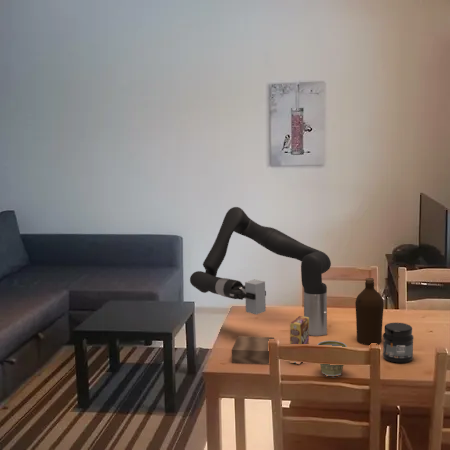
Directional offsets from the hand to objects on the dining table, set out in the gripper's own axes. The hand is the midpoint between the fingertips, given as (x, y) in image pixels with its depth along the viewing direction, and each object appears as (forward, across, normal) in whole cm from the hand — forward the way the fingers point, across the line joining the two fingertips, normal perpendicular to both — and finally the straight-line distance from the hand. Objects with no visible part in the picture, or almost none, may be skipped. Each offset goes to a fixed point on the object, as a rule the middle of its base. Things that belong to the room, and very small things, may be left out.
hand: (260, 295), depth 237 cm
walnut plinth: (+7, -13, +19) cm, 24 cm away
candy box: (+22, -4, +20) cm, 30 cm away
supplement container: (+48, +20, +20) cm, 56 cm away
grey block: (-3, 0, +7) cm, 7 cm away
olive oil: (+31, +28, +20) cm, 46 cm away
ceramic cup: (+39, -6, +20) cm, 44 cm away
